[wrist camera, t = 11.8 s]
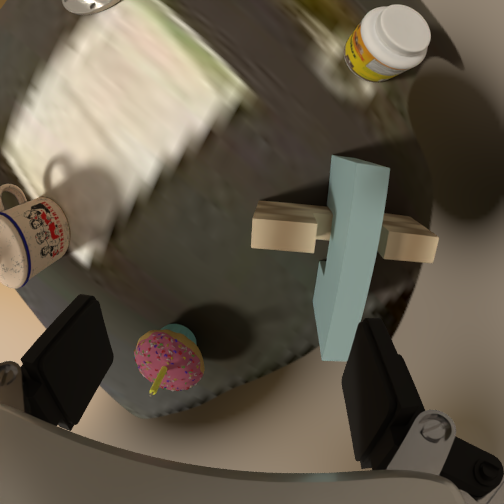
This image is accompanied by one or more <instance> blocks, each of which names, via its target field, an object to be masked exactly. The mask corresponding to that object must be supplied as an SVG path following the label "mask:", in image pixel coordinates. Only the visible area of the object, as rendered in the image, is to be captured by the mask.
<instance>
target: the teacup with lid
mask: <svg viewBox="0 0 504 504" xmlns="http://www.w3.org/2000/svg"><path fill="white" fill-rule="evenodd" d="M4 191H7V192H11V193H13V194H14V195H15V196H16V197H17V199H18V201H19V204H20V205H18V206H16V207H13V208H11V209H8V210H6V211H5V210H4V207H3V204H2V201H1V194H2V192H4ZM69 239H70V233H69V226H68V222H67V219H66V217H65V215H64V213H63V211H62V209H61V208H60V207H59V206H58V205H57V204H56V203H55V202H54V201H53V200H51V199H48V198H44V197H41V198H37V199H34V200H31V201H29V202H27V200H26V198H25V195H24V194H23V192H22V191H21V189H20V188H18V187H17V186H15V185H12V184H4V185H2V186H0V282H1V283H2V284H3V285H5V286H7V287H10V288H20V287H23V286H24V285H25V284H26V283H27V282H28V280H29V279H30V278H32V277H33V276H35V275H36V274H37V273H39V272H40V271H42V270H43V269H45V268H46V267H48V266H49V265H50V264H52V263H53V262H55V261H56V260H58V259H59V258H61V257H62V256H63V255H64V254H65V252H66V251H67V248H68V245H69Z"/></svg>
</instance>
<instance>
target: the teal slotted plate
mask: <svg viewBox="0 0 504 504" xmlns="http://www.w3.org/2000/svg"><path fill="white" fill-rule="evenodd" d="M389 174H390V168H388V167H385V166H381V165H378V164H375V163H371V162H368V161H364V160H360V159H357V158H351V157H344V156H336V155H332V159H331V170H330V180H329V189H328V198H327V206H328V207H329V209H330V210H331V212H332V213H333V219H332V227H331V234H330V241H329V248H328V255H327V261H319V267H318V273H317V280H316V286H315V292H314V298H313V306H314V312H315V318H316V324H317V331H318V337H319V344H320V350H321V357H322V360H323V361H348V357H349V354H350V351H351V347H352V344H353V340H354V337H355V333H356V330H357V326H358V324H359V322H361V318H362V314H363V310H364V307H365V303H366V299H367V295H368V290H369V286H370V282H371V277H372V273H373V268H374V264H375V259H376V254H377V249H378V244H379V239H380V233H381V228H382V222H383V216H384V210H385V203H386V197H387V189H388V182H389Z"/></svg>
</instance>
